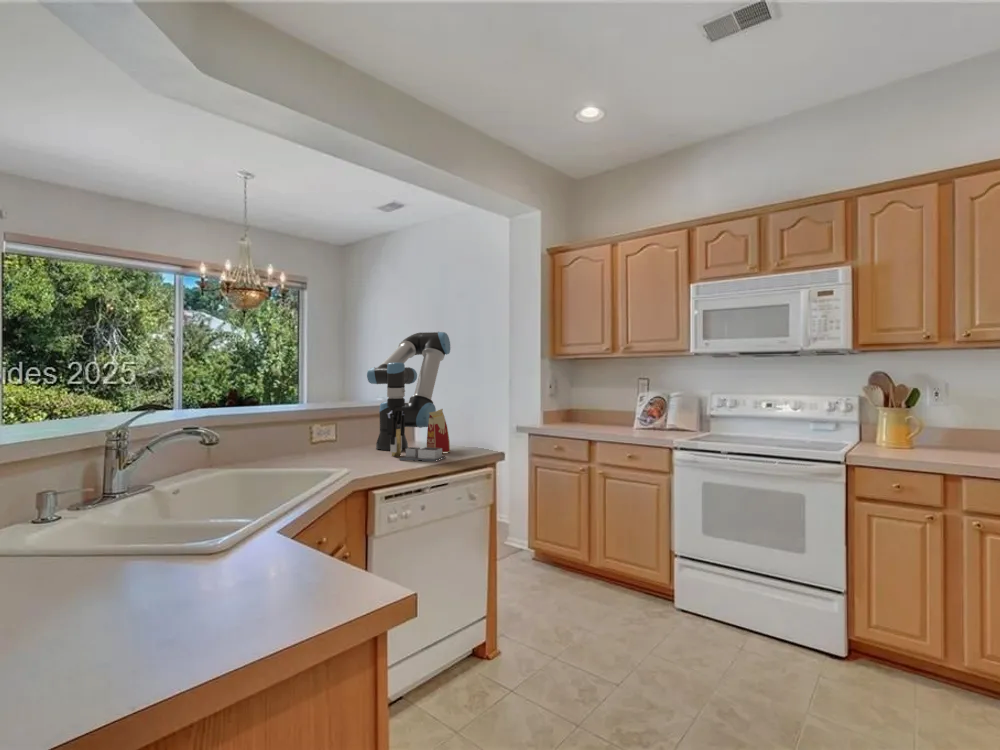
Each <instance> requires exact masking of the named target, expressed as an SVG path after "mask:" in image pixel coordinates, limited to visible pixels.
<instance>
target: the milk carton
mask: <svg viewBox="0 0 1000 750" xmlns="http://www.w3.org/2000/svg"><path fill="white" fill-rule="evenodd" d="M429 414H430V416H429V423H428V427H427V429H426V430H427V432H426V434H427V435H426V447H430V448H442V453H443V452H450V453H451V444H450V436H449V429H448V424H447V421H446V418H445V417H446V416H445V415H444V412H443V408H440V409H438V410H436V411H435V412H430V413H429ZM443 454H444V453H443Z"/></svg>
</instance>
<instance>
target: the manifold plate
mask: <svg viewBox="0 0 1000 750" xmlns="http://www.w3.org/2000/svg"><path fill="white" fill-rule="evenodd" d="M444 457H445V458H446V455H443V454H442V448H430V447H427V446H425V447H423V448H421V447H416V446H415V447H413V446H412V447H408V448H406V449H405V455H404V456H402V457H401V456H400V457H399V461H403V460H422V461H421V462H426V461H436V460H439V459H441V458H444ZM445 458H444V459H445ZM439 461H440V460H439Z"/></svg>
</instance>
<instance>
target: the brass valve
mask: <svg viewBox="0 0 1000 750" xmlns="http://www.w3.org/2000/svg"><path fill="white" fill-rule="evenodd" d="M396 437H397V452H391V457H392V456H400V455H401V454H402V451H401V424H397V428H396ZM401 456H402V455H401ZM401 456H400V457H401Z"/></svg>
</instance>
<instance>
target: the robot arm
mask: <svg viewBox="0 0 1000 750" xmlns="http://www.w3.org/2000/svg"><path fill="white" fill-rule="evenodd" d="M450 352H451V341H450V337H449V335H448V334H447V333H446V332H443V331H436V332H435V331H434V332H433V331H430V332H429V331H428V332H416V333H413V334H411V335H409V336H407V337H406V338H404V339H403V340H402V341H401V342H400V343H399V344H398V347H397V348H396V349H395V350H394V351H393V352H392V353H391V354H390V355H389V356H388V357H387V358H386V359H384V360H383V362H381V364H379V365H378V366H377V367H375V366H374V367H370V368H368V370H367V373H366V378H367V381H368V383H369V384H372V385H381V384H382V385H387V386H386V388H387V390H386V391H387V392H386V394H387V395H386V397H387V400H386V401H383V402H381V403H380V404H379V411H378V412H379V434H378V438H377V441H376V443H375V449H376V450H378V449H381V450H380V451H390V453H392V452H397V437H396V428H397V424H401V452H402V451H403V450H406V449H405V448H409V444H408V443H409V442H408V440H407V437H406V433H405V430H406V428H420V429H421V428H428V423H429V416H430V414H429V413H430V412H435V411H437V409H436V405H435V403H434V401H433V400H432V397H433V393H434V388H435V385H436V381H437V376H438V373H439V367H440V364H441V361H443V360H444V359H445V355H449V354H450ZM419 355H421V356H422V357H423V358H422V362H421V365H420V366H421V367H420V371H419V374H418V372H417V371H416V370H415V369H414V368H413V367H409V366H407V367H405V363H406V362H407V361H408V360H409V359H411V358H414V356H419ZM416 381H417V383H416V386H415V390H414V394H413V395H411V396H410V397H409V400H408V402H406V399H405V397H406V396H405V394H406V393H405V392H406V390H405V388H406V387H405V386H406V385H411V384H413V383H415V382H416Z"/></svg>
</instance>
